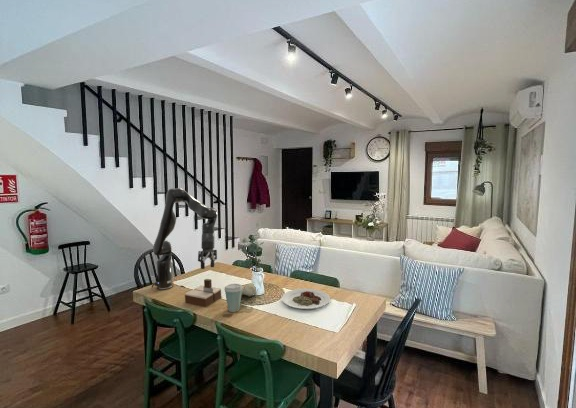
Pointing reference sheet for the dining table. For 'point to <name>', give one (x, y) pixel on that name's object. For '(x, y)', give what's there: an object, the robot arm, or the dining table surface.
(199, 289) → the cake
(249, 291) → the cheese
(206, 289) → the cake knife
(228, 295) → the disposable coffee cup
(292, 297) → the plated food
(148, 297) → the dining table surface
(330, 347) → the dining table surface
